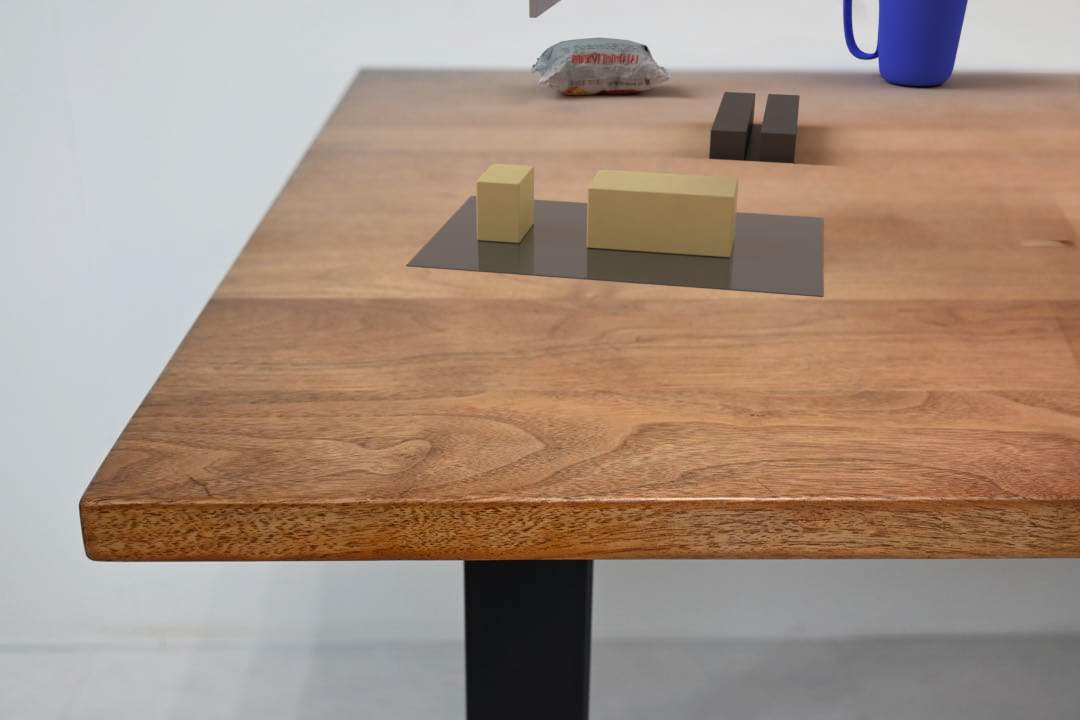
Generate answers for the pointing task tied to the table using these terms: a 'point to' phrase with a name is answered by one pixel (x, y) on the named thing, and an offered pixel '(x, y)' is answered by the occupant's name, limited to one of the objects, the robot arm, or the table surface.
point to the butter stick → (662, 213)
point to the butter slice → (505, 203)
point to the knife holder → (755, 129)
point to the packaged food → (599, 67)
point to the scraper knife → (540, 7)
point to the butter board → (637, 253)
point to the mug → (913, 39)
